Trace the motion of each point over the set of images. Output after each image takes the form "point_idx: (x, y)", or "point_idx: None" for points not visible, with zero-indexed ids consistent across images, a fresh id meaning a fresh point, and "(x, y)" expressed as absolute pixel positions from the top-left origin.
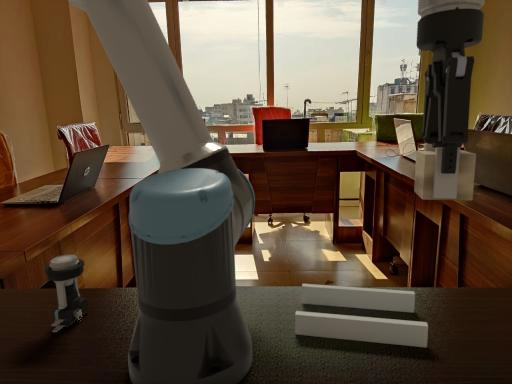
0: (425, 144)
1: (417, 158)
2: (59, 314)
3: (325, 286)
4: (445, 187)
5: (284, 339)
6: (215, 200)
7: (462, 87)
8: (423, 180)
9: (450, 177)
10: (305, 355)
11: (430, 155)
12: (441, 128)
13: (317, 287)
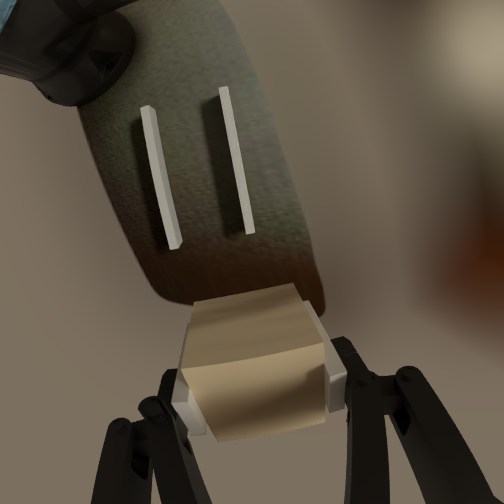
0: (331, 375)
1: (291, 334)
2: None
3: (229, 117)
4: None
5: (135, 106)
6: None
7: None
8: (190, 324)
9: None
10: (118, 135)
11: (186, 377)
12: (150, 450)
13: (222, 107)
